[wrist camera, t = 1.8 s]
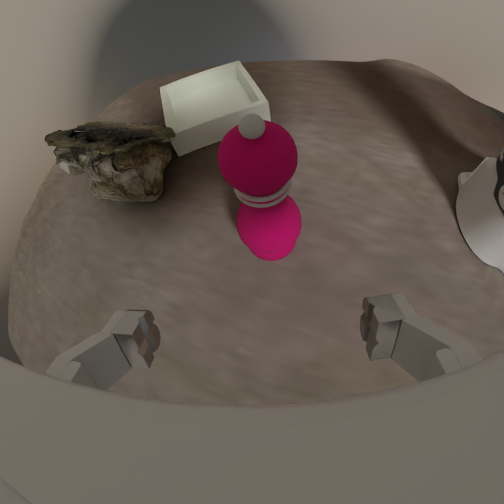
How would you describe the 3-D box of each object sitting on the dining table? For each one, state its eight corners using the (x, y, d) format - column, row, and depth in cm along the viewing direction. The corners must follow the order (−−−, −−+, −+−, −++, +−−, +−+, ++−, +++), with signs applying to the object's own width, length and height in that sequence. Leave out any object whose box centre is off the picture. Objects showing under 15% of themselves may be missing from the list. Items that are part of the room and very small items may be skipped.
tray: (242, 79, 47) (238, 60, 42) (271, 124, 41) (268, 102, 36) (168, 105, 47) (159, 87, 42) (178, 156, 41) (167, 136, 37)
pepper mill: (231, 241, 35) (173, 130, 16) (268, 202, 36) (247, 76, 17) (274, 276, 33) (254, 180, 14) (311, 233, 34) (329, 111, 15)
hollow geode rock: (90, 172, 50) (32, 187, 38) (95, 116, 44) (33, 122, 32) (180, 210, 42) (104, 239, 30) (193, 130, 36) (108, 134, 23)
